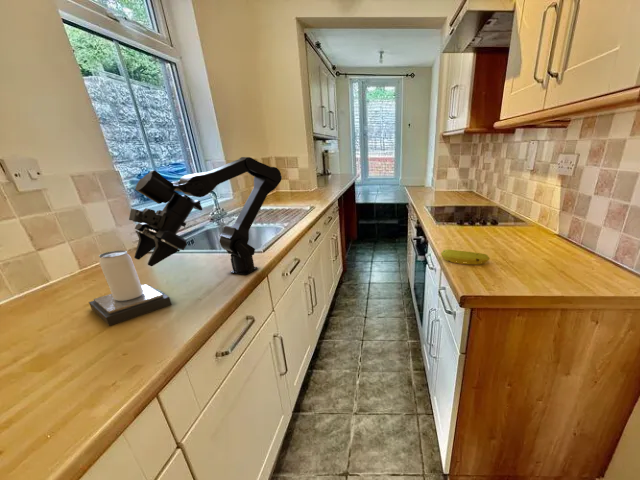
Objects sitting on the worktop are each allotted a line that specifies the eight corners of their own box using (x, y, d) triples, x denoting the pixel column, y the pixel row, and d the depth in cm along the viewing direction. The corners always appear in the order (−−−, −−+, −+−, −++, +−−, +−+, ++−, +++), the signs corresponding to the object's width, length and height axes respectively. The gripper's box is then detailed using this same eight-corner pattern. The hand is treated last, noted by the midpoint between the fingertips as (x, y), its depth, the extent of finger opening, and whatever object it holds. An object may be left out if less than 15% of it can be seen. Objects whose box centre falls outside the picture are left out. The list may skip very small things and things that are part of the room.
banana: (494, 254, 112) (482, 248, 126) (446, 251, 112) (439, 245, 126) (492, 266, 113) (480, 259, 128) (444, 263, 113) (437, 256, 127)
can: (148, 294, 86) (133, 252, 81) (119, 304, 81) (102, 259, 76) (137, 289, 89) (123, 248, 84) (110, 297, 84) (92, 254, 79)
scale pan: (146, 286, 93) (145, 284, 92) (163, 297, 86) (162, 294, 86) (94, 301, 84) (93, 298, 84) (109, 314, 78) (108, 311, 77)
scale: (153, 291, 95) (150, 284, 94) (173, 304, 88) (171, 296, 87) (92, 310, 85) (88, 302, 84) (109, 326, 77) (105, 317, 76)
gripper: (131, 192, 88) (97, 241, 84) (160, 198, 77) (122, 253, 74) (171, 216, 97) (141, 260, 93) (201, 224, 86) (168, 274, 83)
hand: (142, 262), depth 86 cm, fingers open, 9 cm apart
